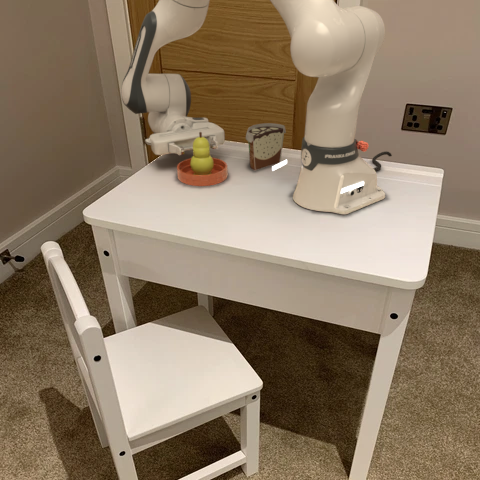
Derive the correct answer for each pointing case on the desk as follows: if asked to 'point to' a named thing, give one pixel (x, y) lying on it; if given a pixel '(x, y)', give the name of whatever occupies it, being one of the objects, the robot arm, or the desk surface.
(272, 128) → the food container
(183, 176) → the dish
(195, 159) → the pear
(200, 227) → the desk surface
